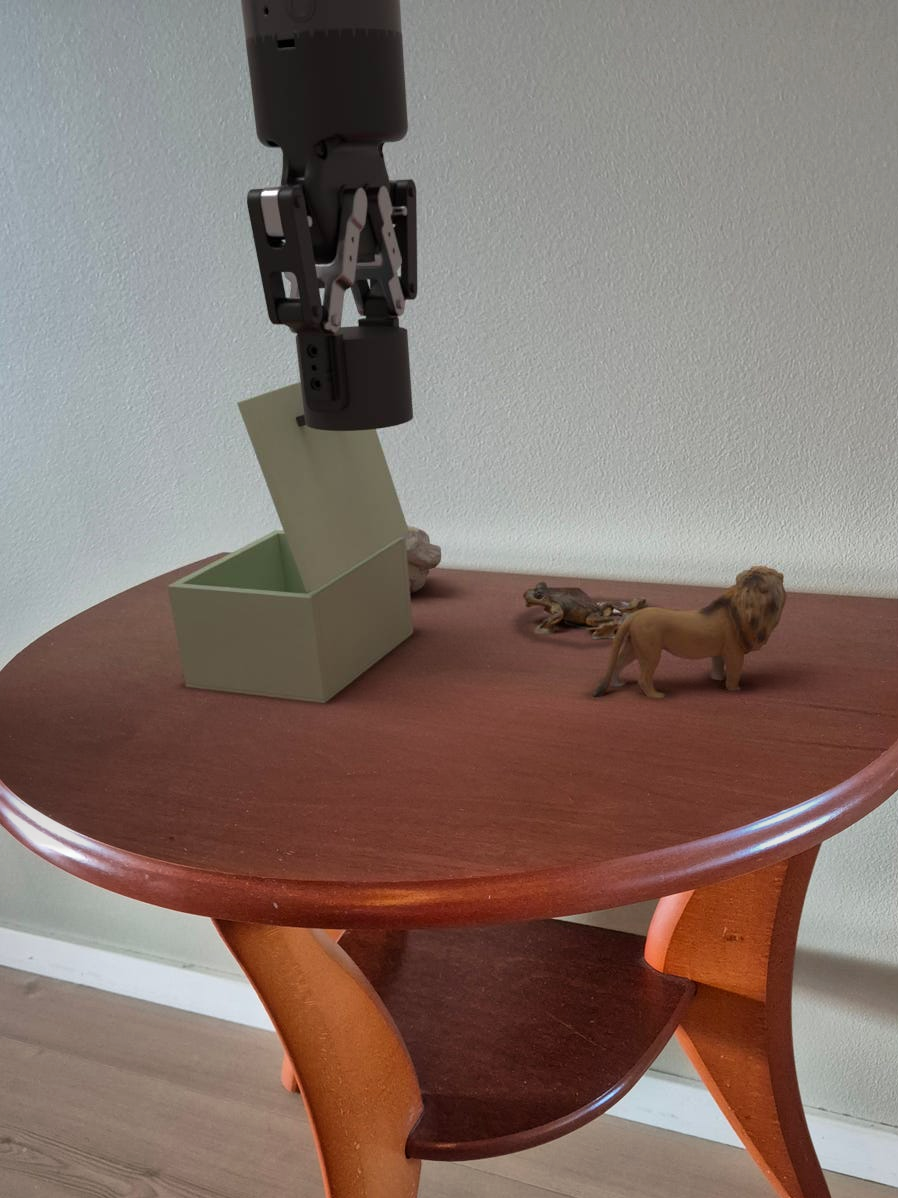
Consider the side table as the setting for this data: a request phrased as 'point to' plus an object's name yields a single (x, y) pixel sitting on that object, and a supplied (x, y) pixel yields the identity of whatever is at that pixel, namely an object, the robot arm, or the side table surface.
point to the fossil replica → (420, 557)
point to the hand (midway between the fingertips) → (356, 398)
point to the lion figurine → (701, 631)
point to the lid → (323, 486)
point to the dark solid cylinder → (369, 381)
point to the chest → (288, 621)
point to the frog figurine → (579, 610)
